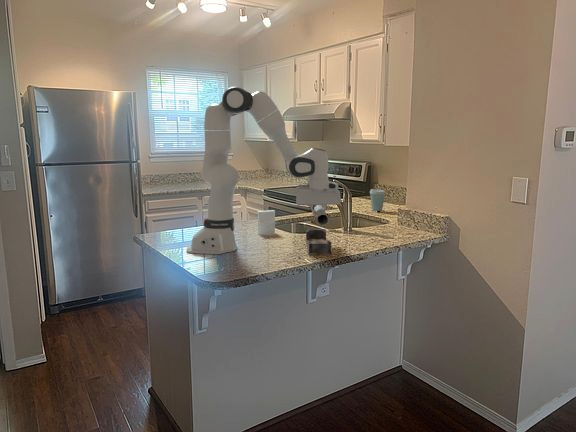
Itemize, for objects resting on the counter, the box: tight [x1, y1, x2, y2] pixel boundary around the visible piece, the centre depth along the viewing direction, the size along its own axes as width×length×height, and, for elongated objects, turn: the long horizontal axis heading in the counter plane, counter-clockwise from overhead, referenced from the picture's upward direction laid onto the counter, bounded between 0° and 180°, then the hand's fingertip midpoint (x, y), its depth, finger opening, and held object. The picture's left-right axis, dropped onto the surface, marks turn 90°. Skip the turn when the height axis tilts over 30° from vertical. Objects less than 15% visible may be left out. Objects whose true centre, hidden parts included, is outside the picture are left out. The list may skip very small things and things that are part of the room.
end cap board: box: [305, 228, 333, 256], centre depth 199 cm, size 10×29×5 cm, turn 0°
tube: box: [313, 205, 330, 227], centre depth 196 cm, size 5×5×25 cm
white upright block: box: [257, 209, 276, 236], centre depth 226 cm, size 9×9×12 cm
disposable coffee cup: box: [369, 188, 386, 212], centre depth 291 cm, size 11×11×15 cm
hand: (318, 214), depth 197 cm, fingers closed on tube, 2 cm apart
